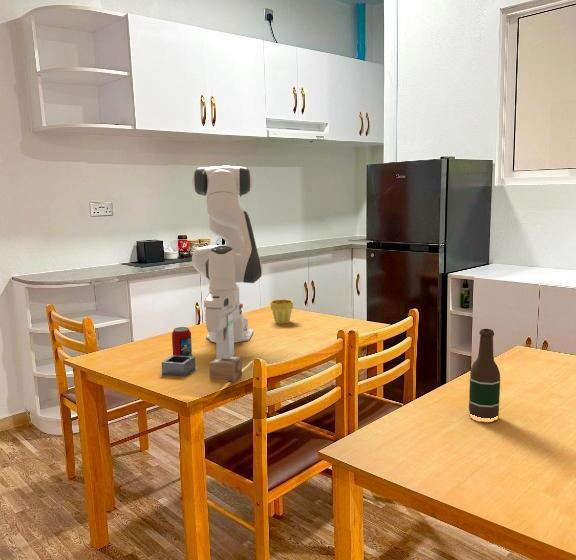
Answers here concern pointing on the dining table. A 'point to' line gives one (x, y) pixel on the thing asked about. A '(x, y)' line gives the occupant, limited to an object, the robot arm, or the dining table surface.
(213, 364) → the pedestal
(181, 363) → the grey square bin
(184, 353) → the beverage can
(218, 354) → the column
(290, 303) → the plant pot
